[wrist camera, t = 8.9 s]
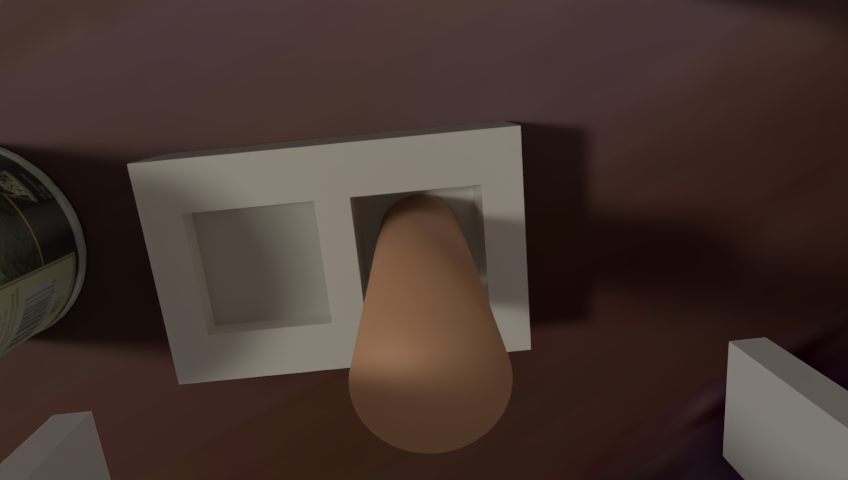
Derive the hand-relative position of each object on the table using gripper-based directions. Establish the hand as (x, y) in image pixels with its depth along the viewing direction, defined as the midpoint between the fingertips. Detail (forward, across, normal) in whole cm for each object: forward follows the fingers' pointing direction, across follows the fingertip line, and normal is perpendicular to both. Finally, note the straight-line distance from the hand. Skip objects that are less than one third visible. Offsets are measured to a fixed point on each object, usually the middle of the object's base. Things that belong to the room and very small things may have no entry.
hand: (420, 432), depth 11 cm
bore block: (+17, -3, 0) cm, 17 cm away
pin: (+16, +1, 0) cm, 16 cm away
